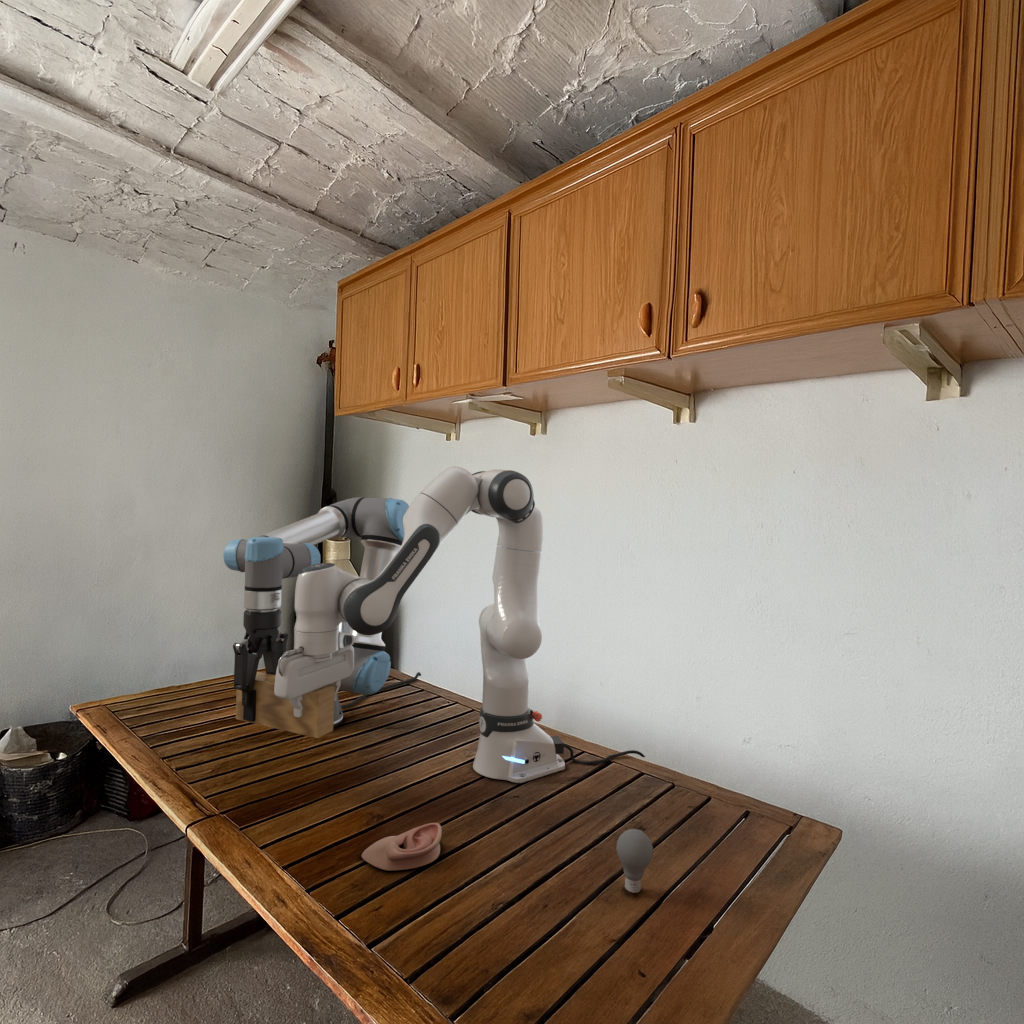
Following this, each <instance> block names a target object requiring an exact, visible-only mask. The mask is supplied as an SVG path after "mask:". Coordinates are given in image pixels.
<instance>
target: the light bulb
mask: <svg viewBox="0 0 1024 1024" xmlns="http://www.w3.org/2000/svg"><path fill="white" fill-rule="evenodd" d="M615 849H616V854H617V857H618V859H619V861H620V863H621V865H622V867H623V873H624V874H623V875H624V876H625V878H624V888H625V890H627V891H628V892H630V893H634V894H635V893H639V892H640V891H641V889H642V887H641V886H642V879H643V877H644V875H645V871H646V868H647V867H648V866H649V864H650V863H651V861H652V859H653V855H654V847H653V843H652V841H651V838H649V836H648V835H647V834H646V833H645V832H643V831H642V830H641V829H636V828H629V829H627V830H625V831H623V832H622V833H621V834H620V835H619V837H618V839H617V841H616V847H615Z"/></svg>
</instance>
